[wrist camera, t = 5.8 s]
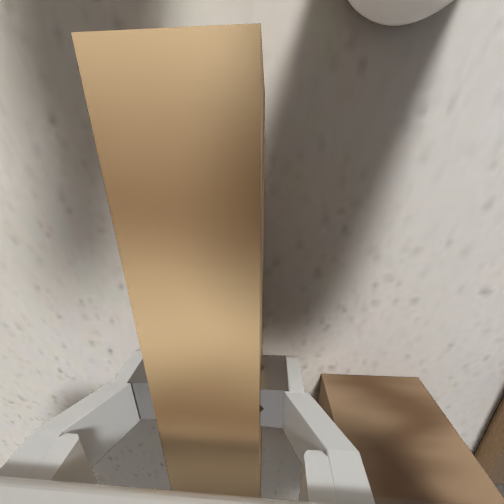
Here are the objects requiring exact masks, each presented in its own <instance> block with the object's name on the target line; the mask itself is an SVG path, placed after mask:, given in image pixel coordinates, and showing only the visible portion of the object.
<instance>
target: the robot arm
mask: <svg viewBox="0 0 504 504" xmlns="http://www.w3.org/2000/svg"><path fill="white" fill-rule="evenodd" d="M140 419H151V420H156V416H155V412H154V407H153V403H152V398H151V394H150V389H149V385H148V380H147V376H146V371H145V366H144V362H143V357H142V353H141V349H138V350H136V351H135V352H134V353H133V355H132V356H131V357H130V359H129V360H128V362H127V363H126V364H125V366H124V367H123V369H122V370H121V371H120V373H119V374H118V376H117V377H116V378H115V380H114V381H113V382H108V383H107V384H105V385H104V386H102V387H101V388H99V389H98V390H96V391H94V392H93V393H91V394H90V395H88V396H87V397H85V398H83V399H82V400H80V401H79V402H77V403H76V404H74V405H73V406H71V407H69V408H68V409H66V410H65V411H63V412H62V413H60V414H58V415H57V416H55V417H54V418H52V419H51V420H49V421H47V422H46V423H44V424H43V425H41V426H40V427H38V428H37V429H35V430H34V431H33V432H32V433H31V435H30V436H29V437H28V438H27V439H26V440H25V441H24V443H23V444H22V445H21V446H20V447H19V448H18V449H17V451H16V452H15V453H14V454H13V455H12V456H11V457H10V458H9V460H8V461H7V462H6V463H5V464H4V465H3V466H2V468H1V469H0V504H375V501H374V498H373V495H372V492H371V488H370V485H369V482H368V479H367V475H366V472H365V469H364V466H363V462H362V459H361V456H360V453H359V451H358V450H357V449H356V448H355V447H354V445H353V444H352V443H351V442H350V441H349V440H348V438H347V437H346V436H345V435H344V434H343V432H342V431H341V430H340V429H339V428H338V427H337V425H336V424H335V423H334V422H333V421H332V420H331V418H330V417H329V416H328V415H327V414H326V412H325V411H324V410H323V409H322V408H321V407H320V405H319V404H318V403H317V402H316V401H315V400H314V398H313V397H312V396H311V395H310V394H309V393H305V391H304V385H303V378H302V372H301V366H300V359H299V357H298V356H287V355H286V356H285V355H261V372H260V426H265V427H276V428H283V431H284V433H285V435H286V437H287V438H288V440H289V442H290V444H291V446H292V448H293V449H294V451H295V453H296V455H297V457H298V458H299V460H300V462H301V464H302V466H303V468H302V477H301V486H300V495H299V501H294V500H282V499H270V498H258V497H246V496H234V495H222V494H210V493H198V492H186V491H174V490H162V489H150V488H138V487H126V486H113V485H101V484H97V479H96V477H95V475H94V472H93V470H92V467H93V466H94V465H95V464H96V463H97V462H98V461H99V460H100V459H101V458H102V457H104V456H105V455H106V454H107V453H108V452H109V451H110V450H111V449H112V448H113V447H114V446H115V445H116V444H117V443H118V442H119V441H120V440H121V439H122V438H123V437H124V436H125V435H126V434H127V433H128V432H129V431H130V430H131V429H132V428H133V427H134V426H135V425H136V424H137V423H138V422H139V421H140Z"/></svg>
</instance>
